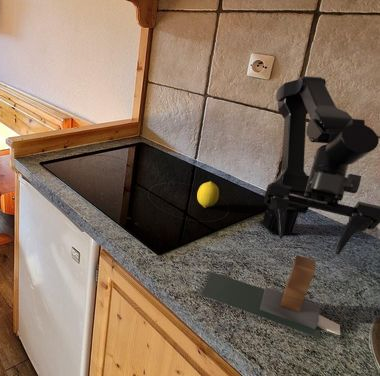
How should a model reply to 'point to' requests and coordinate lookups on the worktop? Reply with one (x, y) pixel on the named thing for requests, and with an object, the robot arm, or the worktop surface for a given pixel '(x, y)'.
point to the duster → (294, 296)
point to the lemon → (208, 194)
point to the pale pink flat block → (328, 325)
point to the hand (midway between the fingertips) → (308, 245)
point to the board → (247, 300)
